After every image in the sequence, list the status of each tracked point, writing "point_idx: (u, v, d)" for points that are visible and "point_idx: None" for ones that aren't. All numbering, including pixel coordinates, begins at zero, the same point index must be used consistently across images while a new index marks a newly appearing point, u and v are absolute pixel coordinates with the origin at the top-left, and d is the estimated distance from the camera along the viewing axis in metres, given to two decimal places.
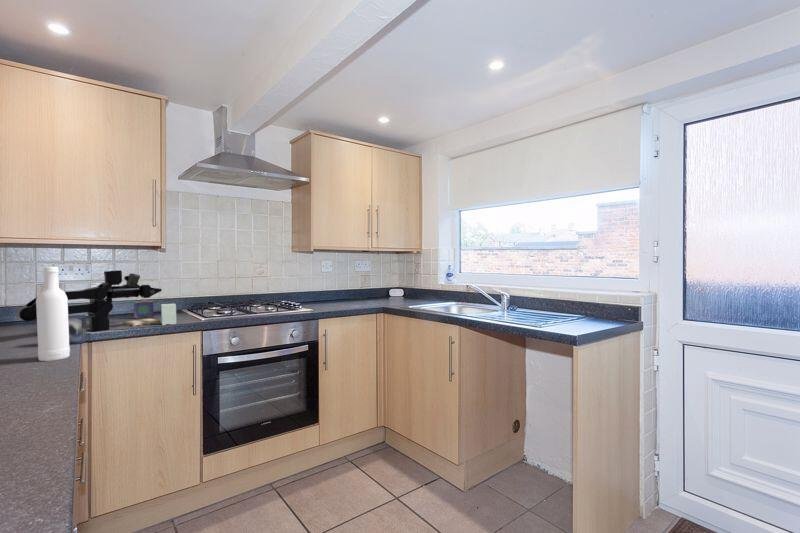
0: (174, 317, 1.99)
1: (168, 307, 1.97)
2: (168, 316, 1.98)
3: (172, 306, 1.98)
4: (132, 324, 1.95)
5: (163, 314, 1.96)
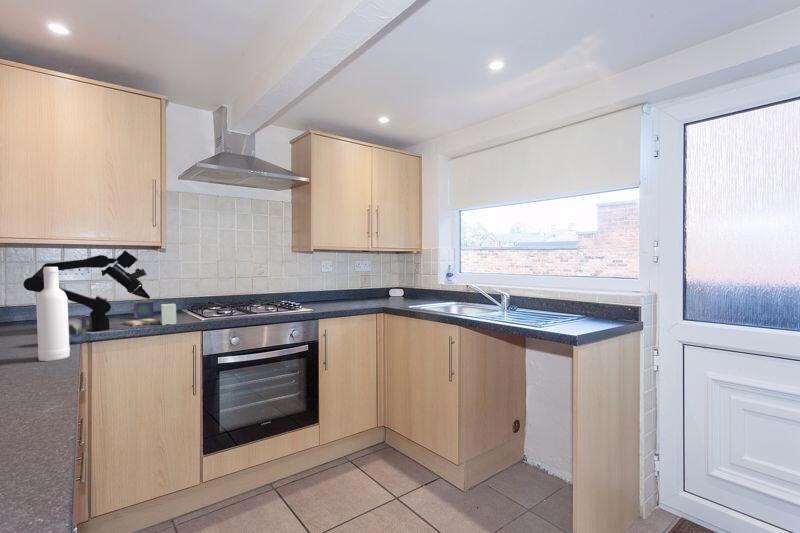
0: (174, 317, 1.99)
1: (168, 307, 1.97)
2: (168, 316, 1.98)
3: (172, 306, 1.98)
4: (132, 324, 1.95)
5: (163, 314, 1.96)
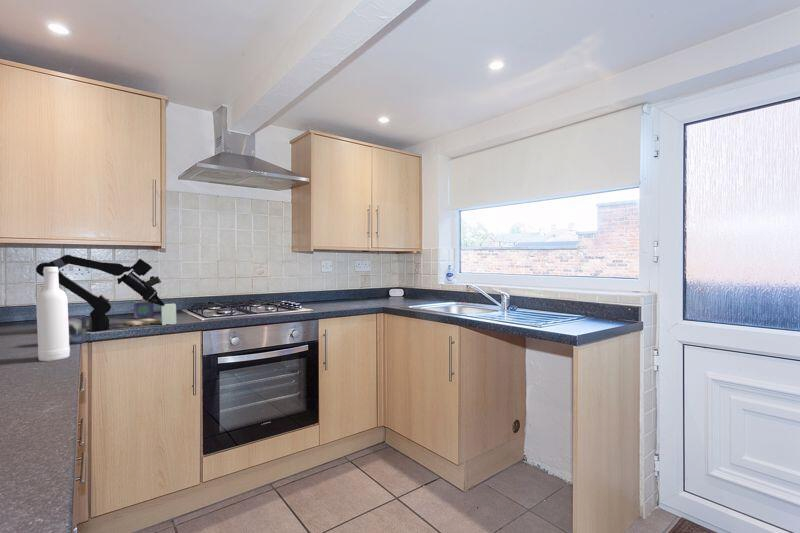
0: (174, 317, 1.99)
1: (168, 307, 1.97)
2: (168, 316, 1.98)
3: (172, 306, 1.98)
4: (132, 324, 1.95)
5: (163, 314, 1.96)
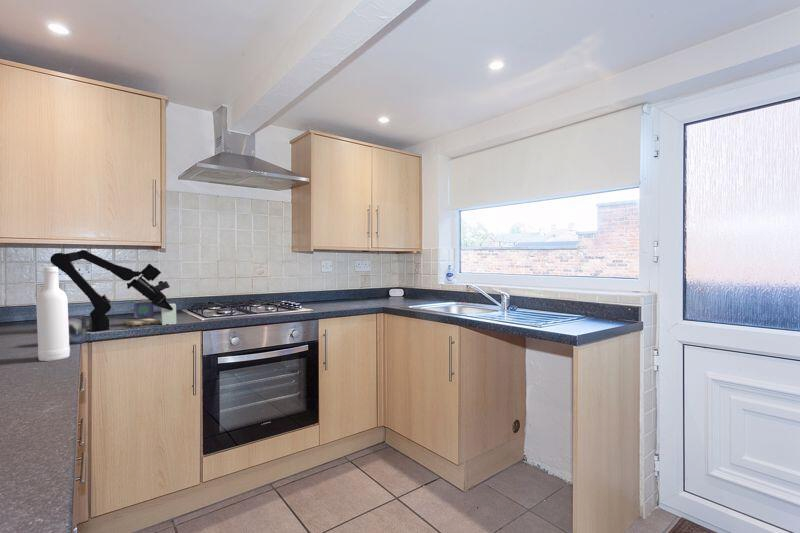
0: (174, 317, 1.99)
1: None
2: (168, 316, 1.98)
3: (172, 306, 1.98)
4: (132, 324, 1.95)
5: (163, 314, 1.96)
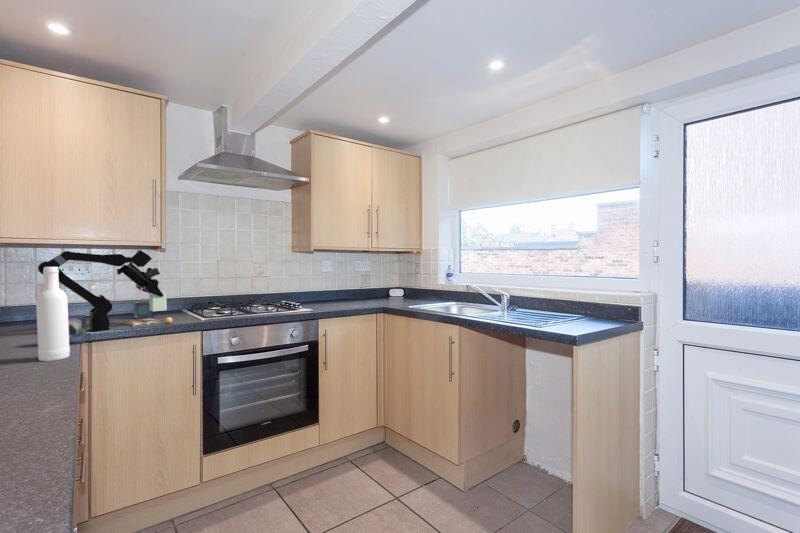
0: (164, 303, 2.01)
1: None
2: (159, 302, 1.99)
3: (163, 293, 2.01)
4: (132, 324, 1.95)
5: (154, 300, 1.98)
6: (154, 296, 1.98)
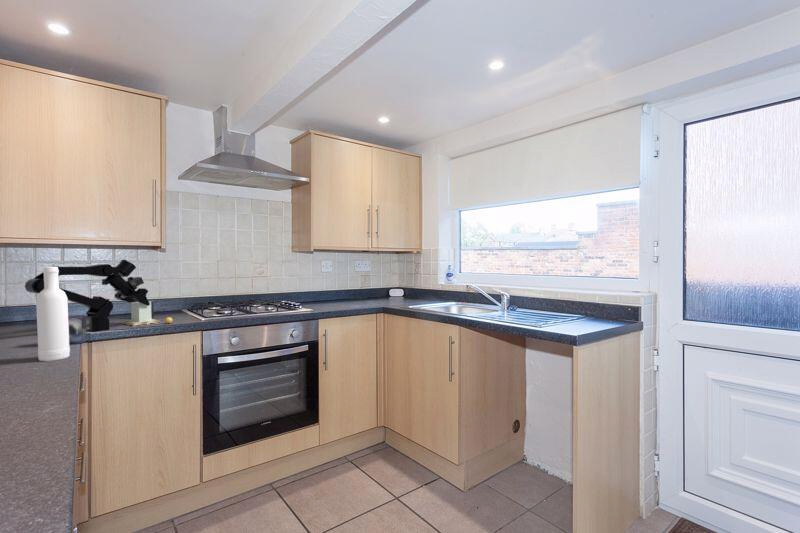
0: (149, 314, 2.03)
1: (144, 304, 2.00)
2: (144, 313, 2.01)
3: None
4: (132, 324, 1.95)
5: (140, 311, 1.99)
6: (140, 307, 1.99)
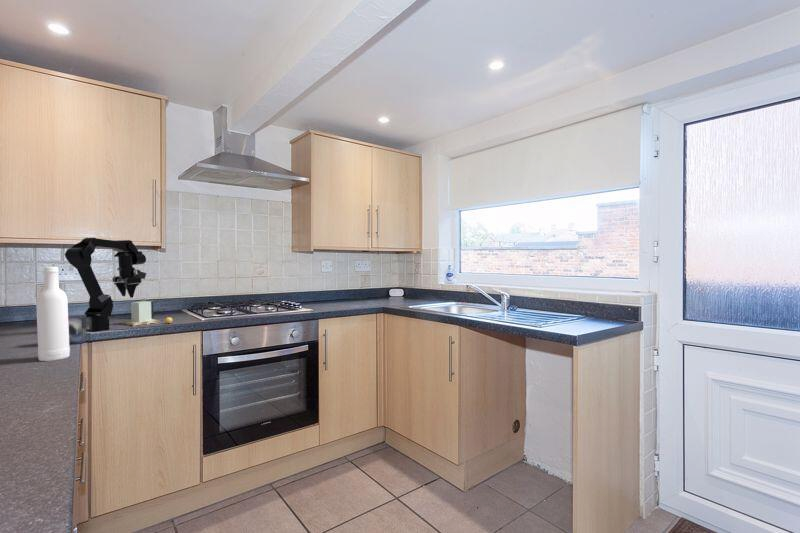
0: (149, 314, 2.03)
1: (144, 304, 2.00)
2: (144, 313, 2.01)
3: (148, 303, 2.02)
4: (132, 324, 1.95)
5: (140, 311, 1.99)
6: (140, 307, 1.99)
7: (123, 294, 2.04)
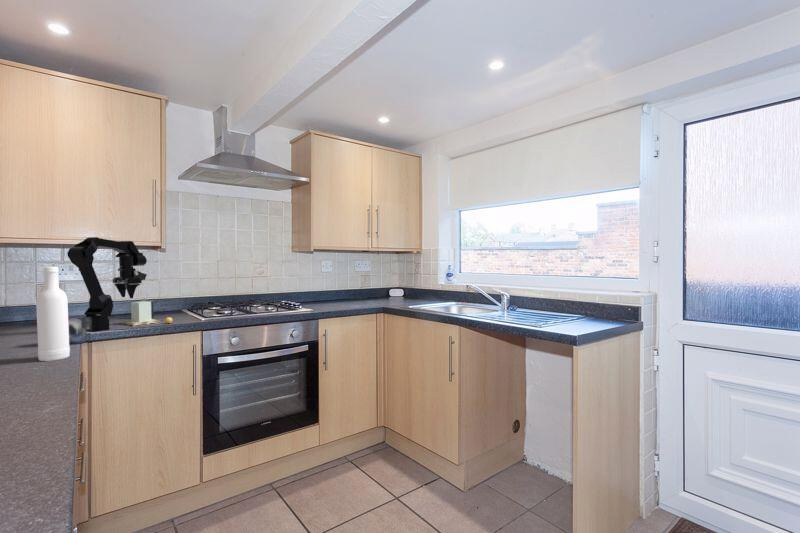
0: (149, 314, 2.03)
1: (144, 304, 2.00)
2: (144, 313, 2.01)
3: (148, 303, 2.02)
4: (132, 324, 1.95)
5: (140, 311, 1.99)
6: (140, 307, 1.99)
7: (123, 295, 2.04)
